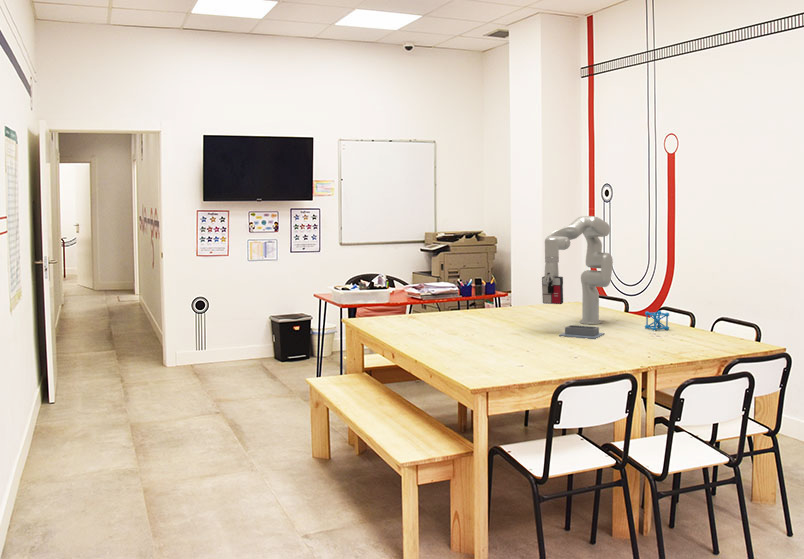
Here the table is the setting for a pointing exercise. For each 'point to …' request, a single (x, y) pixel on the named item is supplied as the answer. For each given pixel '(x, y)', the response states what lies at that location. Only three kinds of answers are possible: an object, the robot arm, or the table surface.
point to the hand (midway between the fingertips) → (552, 292)
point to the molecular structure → (657, 320)
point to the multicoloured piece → (558, 291)
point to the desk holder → (582, 332)
